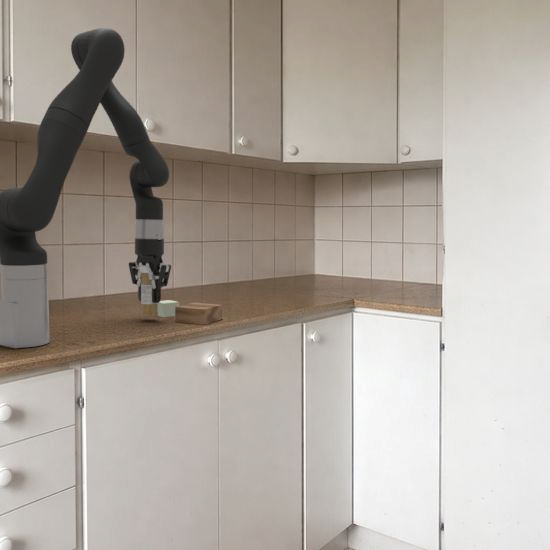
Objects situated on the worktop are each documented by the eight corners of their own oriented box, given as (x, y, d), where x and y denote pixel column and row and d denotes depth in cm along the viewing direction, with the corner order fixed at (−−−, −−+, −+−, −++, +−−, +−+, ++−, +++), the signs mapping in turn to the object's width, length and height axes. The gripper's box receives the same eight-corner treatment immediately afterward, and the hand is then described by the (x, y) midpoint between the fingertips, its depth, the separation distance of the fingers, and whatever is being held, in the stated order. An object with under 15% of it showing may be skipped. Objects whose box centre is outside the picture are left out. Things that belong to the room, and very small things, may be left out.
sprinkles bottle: (151, 313, 158) (151, 264, 157) (161, 315, 155) (161, 265, 154) (137, 315, 155) (137, 265, 154) (147, 317, 152) (147, 266, 150)
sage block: (163, 317, 161) (163, 303, 160) (154, 315, 165) (154, 301, 164) (179, 316, 164) (179, 302, 164) (170, 313, 168) (170, 300, 168)
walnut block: (204, 324, 150) (204, 309, 150) (175, 321, 154) (175, 306, 154) (222, 319, 158) (222, 304, 158) (193, 316, 162) (193, 302, 162)
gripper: (119, 236, 154) (120, 300, 156) (158, 237, 146) (158, 305, 147) (141, 236, 160) (141, 298, 162) (179, 237, 152) (179, 302, 154)
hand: (149, 301), depth 155 cm, fingers closed on sprinkles bottle, 4 cm apart
